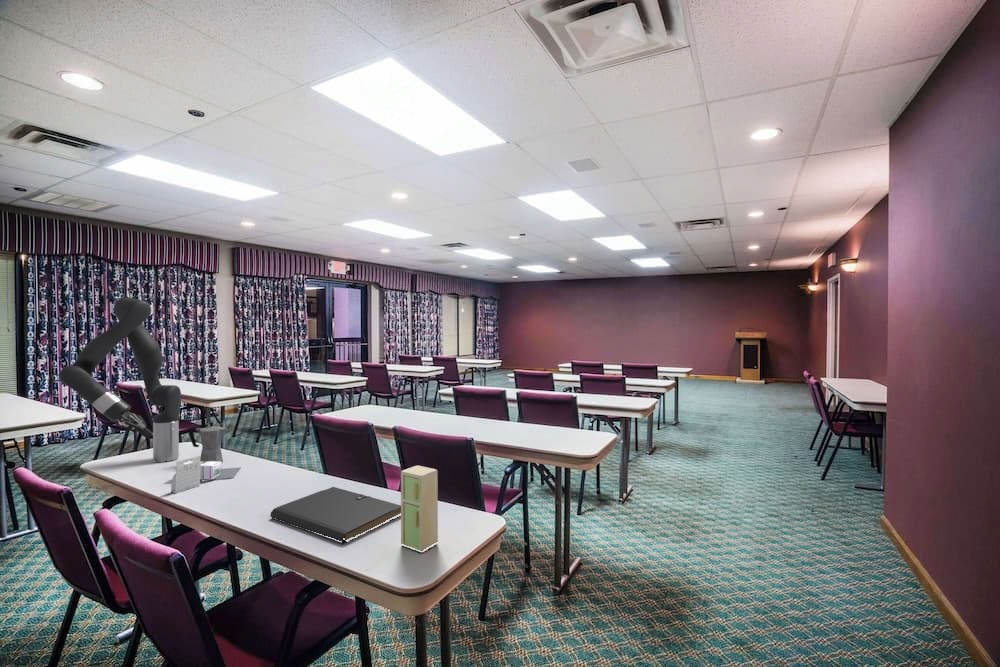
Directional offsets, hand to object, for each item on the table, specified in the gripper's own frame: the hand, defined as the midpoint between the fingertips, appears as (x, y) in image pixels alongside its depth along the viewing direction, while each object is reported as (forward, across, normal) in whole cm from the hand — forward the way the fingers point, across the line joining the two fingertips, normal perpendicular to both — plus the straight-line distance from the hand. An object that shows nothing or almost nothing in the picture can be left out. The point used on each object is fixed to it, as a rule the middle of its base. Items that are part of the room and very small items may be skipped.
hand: (150, 436), depth 180 cm
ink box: (+23, -16, +1) cm, 28 cm away
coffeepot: (+23, +18, +2) cm, 30 cm away
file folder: (+61, -59, -37) cm, 92 cm away
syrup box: (+17, -1, +3) cm, 17 cm away
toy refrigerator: (+75, -86, -53) cm, 126 cm away
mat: (+27, 0, -2) cm, 27 cm away
